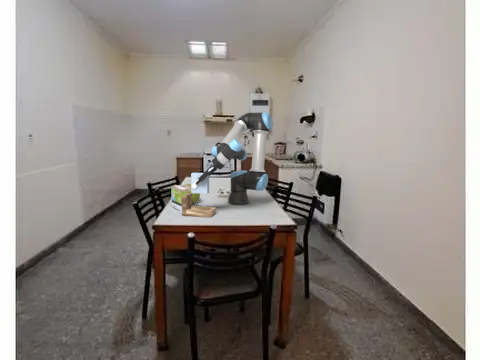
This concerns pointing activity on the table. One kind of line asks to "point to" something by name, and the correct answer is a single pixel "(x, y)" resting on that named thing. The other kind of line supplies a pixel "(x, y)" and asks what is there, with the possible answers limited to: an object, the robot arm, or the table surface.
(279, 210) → the table surface
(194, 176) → the pale blue rectangular block
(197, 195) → the fruit
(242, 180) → the robot arm
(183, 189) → the tea box
